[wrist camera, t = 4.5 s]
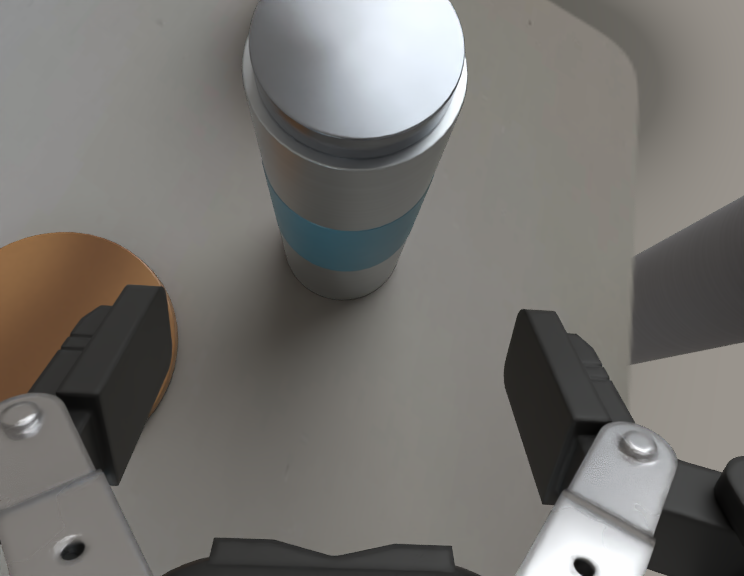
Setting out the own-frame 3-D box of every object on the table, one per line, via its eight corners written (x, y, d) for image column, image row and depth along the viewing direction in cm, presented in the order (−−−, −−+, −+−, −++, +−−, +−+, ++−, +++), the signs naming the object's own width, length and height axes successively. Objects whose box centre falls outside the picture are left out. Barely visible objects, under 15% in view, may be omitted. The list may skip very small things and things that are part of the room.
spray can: (401, 194, 30) (479, -50, 15) (397, 304, 29) (478, 162, 13) (289, 186, 30) (246, -73, 14) (279, 296, 28) (221, 142, 13)
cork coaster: (191, 243, 29) (188, 239, 28) (161, 474, 26) (158, 475, 26) (-38, 228, 28) (-46, 223, 28) (-92, 463, 26) (-102, 464, 25)
